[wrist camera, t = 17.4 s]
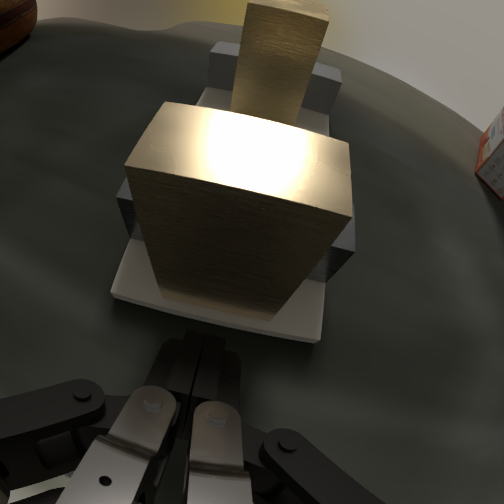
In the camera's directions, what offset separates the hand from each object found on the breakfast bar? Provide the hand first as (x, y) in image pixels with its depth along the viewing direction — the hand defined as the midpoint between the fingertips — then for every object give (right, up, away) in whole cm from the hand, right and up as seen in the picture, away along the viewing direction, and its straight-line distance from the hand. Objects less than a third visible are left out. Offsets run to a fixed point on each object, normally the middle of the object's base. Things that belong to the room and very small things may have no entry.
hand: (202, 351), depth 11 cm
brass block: (+3, +15, +13) cm, 20 cm away
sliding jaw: (+1, +3, +6) cm, 7 cm away
